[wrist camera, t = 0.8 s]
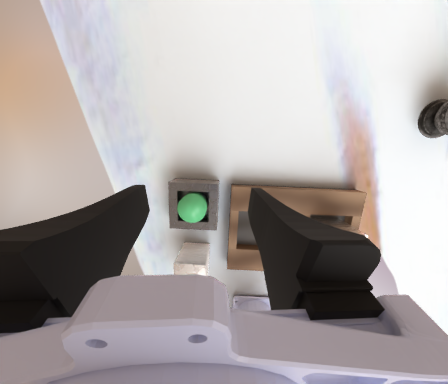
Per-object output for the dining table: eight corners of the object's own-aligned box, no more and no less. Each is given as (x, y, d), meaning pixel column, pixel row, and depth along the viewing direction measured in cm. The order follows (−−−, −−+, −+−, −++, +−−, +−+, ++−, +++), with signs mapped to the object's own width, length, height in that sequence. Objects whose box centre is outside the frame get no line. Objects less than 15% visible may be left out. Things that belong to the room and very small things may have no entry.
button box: (217, 221, 29) (216, 230, 26) (176, 219, 29) (169, 228, 26) (219, 180, 27) (218, 184, 24) (175, 178, 28) (168, 181, 24)
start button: (207, 216, 27) (205, 223, 24) (182, 215, 27) (177, 222, 24) (208, 191, 26) (206, 195, 23) (182, 190, 26) (177, 194, 23)
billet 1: (208, 266, 31) (204, 292, 25) (184, 264, 31) (174, 290, 25) (209, 243, 30) (205, 265, 24) (184, 242, 30) (173, 263, 24)
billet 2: (333, 243, 29) (360, 266, 23) (306, 242, 29) (327, 264, 23) (338, 218, 28) (368, 235, 22) (311, 217, 28) (333, 233, 22)
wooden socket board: (339, 266, 31) (347, 275, 28) (227, 261, 31) (227, 269, 29) (355, 189, 27) (366, 192, 25) (231, 184, 28) (231, 186, 25)
